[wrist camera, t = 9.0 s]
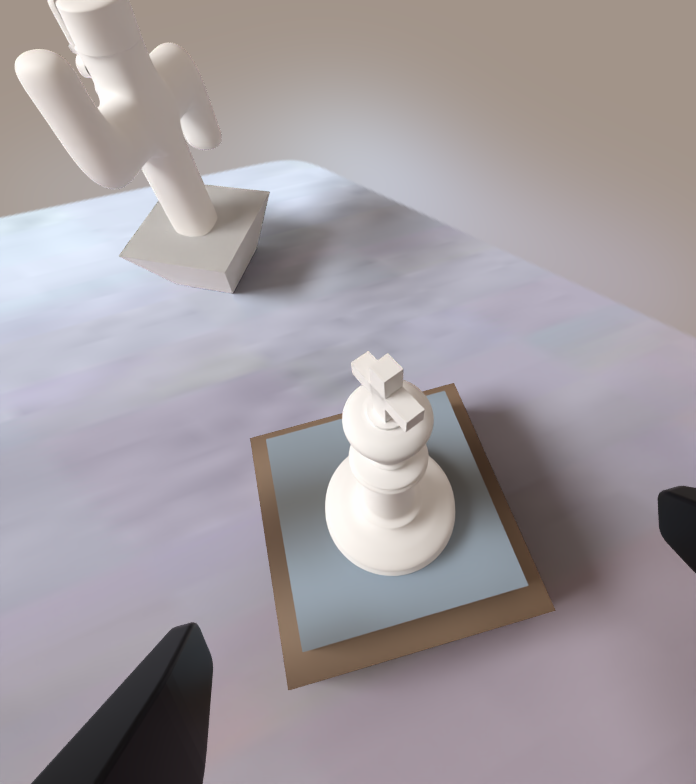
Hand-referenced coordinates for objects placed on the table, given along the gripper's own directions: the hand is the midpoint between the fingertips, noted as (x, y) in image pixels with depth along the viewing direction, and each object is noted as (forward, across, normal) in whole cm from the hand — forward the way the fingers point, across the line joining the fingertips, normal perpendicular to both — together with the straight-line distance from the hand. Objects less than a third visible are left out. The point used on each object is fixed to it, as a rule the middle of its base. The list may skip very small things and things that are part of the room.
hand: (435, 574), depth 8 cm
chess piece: (+8, 0, +3) cm, 9 cm away
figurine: (+25, +7, -8) cm, 27 cm away
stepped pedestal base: (+11, 0, +6) cm, 13 cm away
